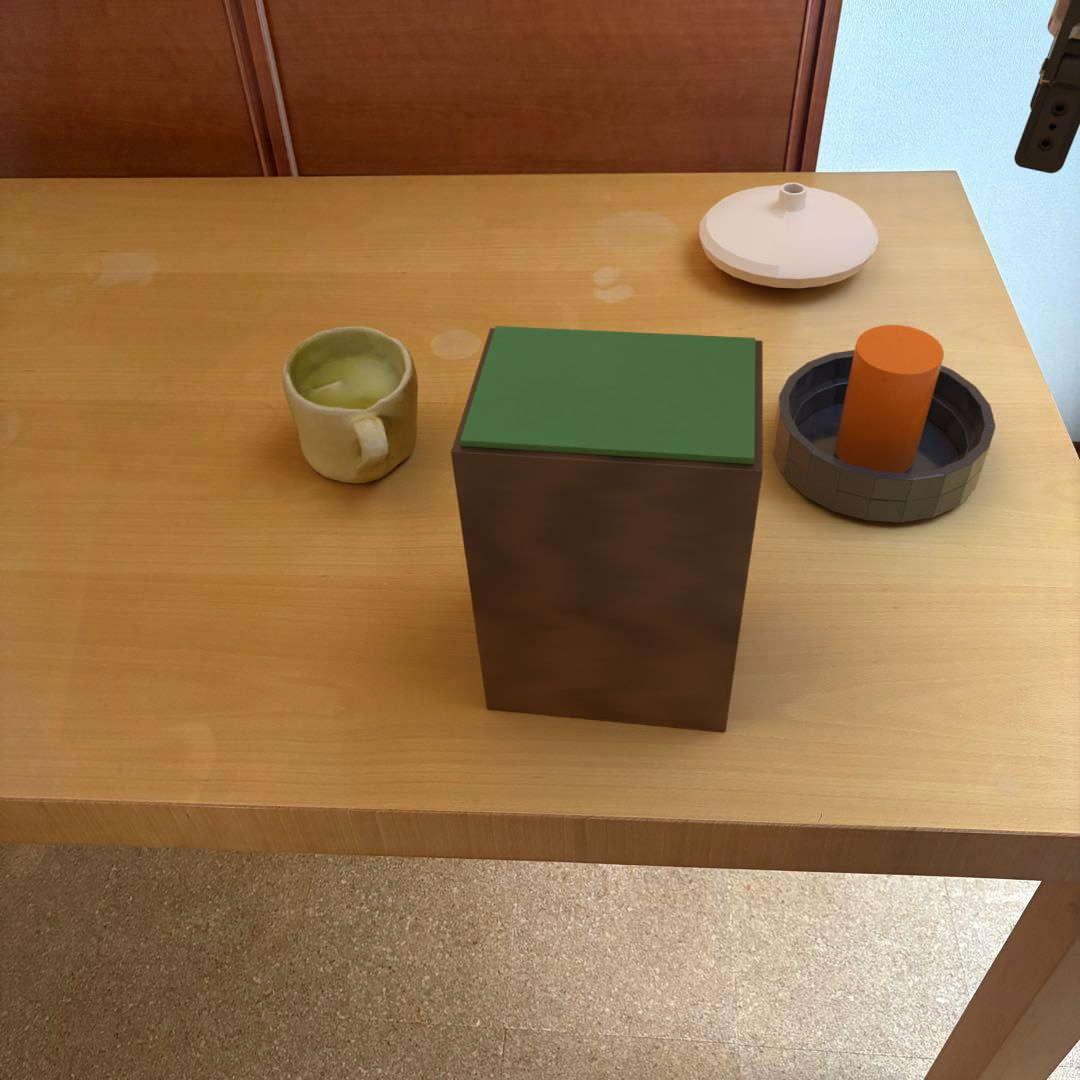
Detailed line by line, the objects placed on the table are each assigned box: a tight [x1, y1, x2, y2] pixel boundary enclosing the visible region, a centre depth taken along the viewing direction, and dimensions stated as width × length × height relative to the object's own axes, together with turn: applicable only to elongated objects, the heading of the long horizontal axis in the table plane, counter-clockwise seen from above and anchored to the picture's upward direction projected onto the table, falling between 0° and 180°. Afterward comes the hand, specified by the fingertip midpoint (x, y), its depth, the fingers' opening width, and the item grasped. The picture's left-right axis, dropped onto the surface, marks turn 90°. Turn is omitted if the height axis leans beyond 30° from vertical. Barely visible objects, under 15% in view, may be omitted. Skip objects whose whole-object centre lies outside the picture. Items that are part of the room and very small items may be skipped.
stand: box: [450, 327, 764, 733], centre depth 57 cm, size 14×10×20 cm
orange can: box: [835, 324, 945, 473], centre depth 72 cm, size 6×6×9 cm
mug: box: [282, 325, 419, 484], centre depth 75 cm, size 12×10×10 cm
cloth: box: [460, 325, 756, 464], centre depth 50 cm, size 13×9×1 cm
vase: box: [698, 182, 880, 289], centre depth 92 cm, size 16×16×7 cm
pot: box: [772, 349, 996, 523], centre depth 74 cm, size 14×14×4 cm
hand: (1042, 139), depth 53 cm, fingers open, 8 cm apart
